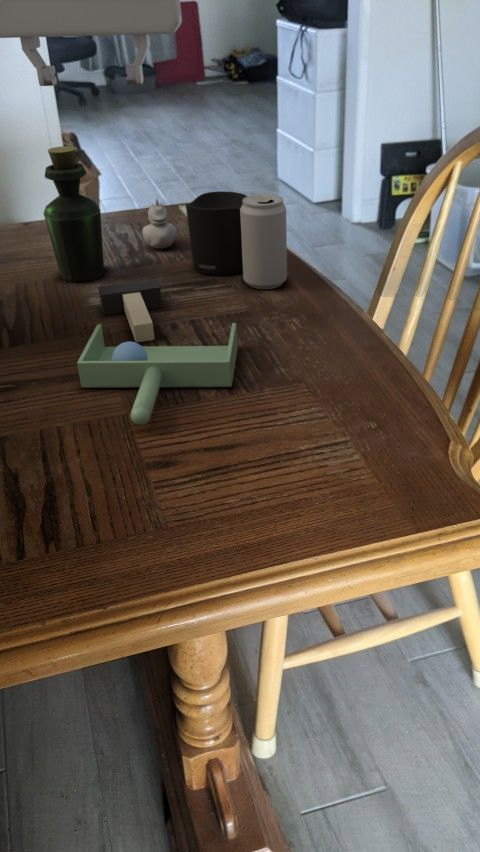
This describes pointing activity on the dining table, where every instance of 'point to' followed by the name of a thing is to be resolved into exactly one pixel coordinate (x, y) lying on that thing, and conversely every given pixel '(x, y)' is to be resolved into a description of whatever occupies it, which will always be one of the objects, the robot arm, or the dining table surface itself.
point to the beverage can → (264, 240)
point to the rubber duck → (159, 228)
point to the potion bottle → (73, 220)
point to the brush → (133, 305)
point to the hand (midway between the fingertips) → (91, 84)
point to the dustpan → (157, 369)
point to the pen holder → (216, 232)
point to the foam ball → (129, 352)
